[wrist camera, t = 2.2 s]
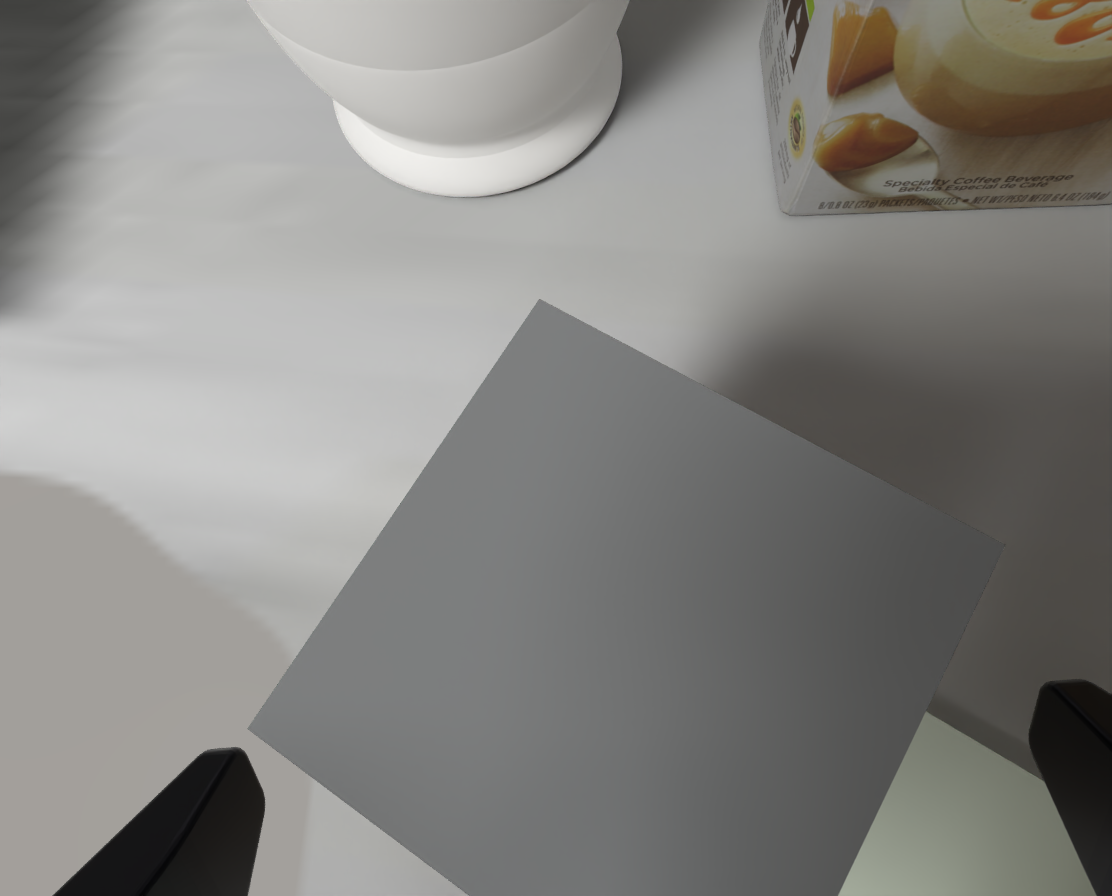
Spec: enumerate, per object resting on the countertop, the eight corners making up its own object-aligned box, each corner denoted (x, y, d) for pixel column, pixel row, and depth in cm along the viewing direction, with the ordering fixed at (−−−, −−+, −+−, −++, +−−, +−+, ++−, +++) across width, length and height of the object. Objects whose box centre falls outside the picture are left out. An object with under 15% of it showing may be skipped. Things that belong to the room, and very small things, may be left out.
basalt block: (675, 873, 12) (740, 1099, 6) (430, 702, 14) (247, 729, 7) (814, 609, 13) (1005, 545, 7) (576, 471, 15) (539, 299, 8)
